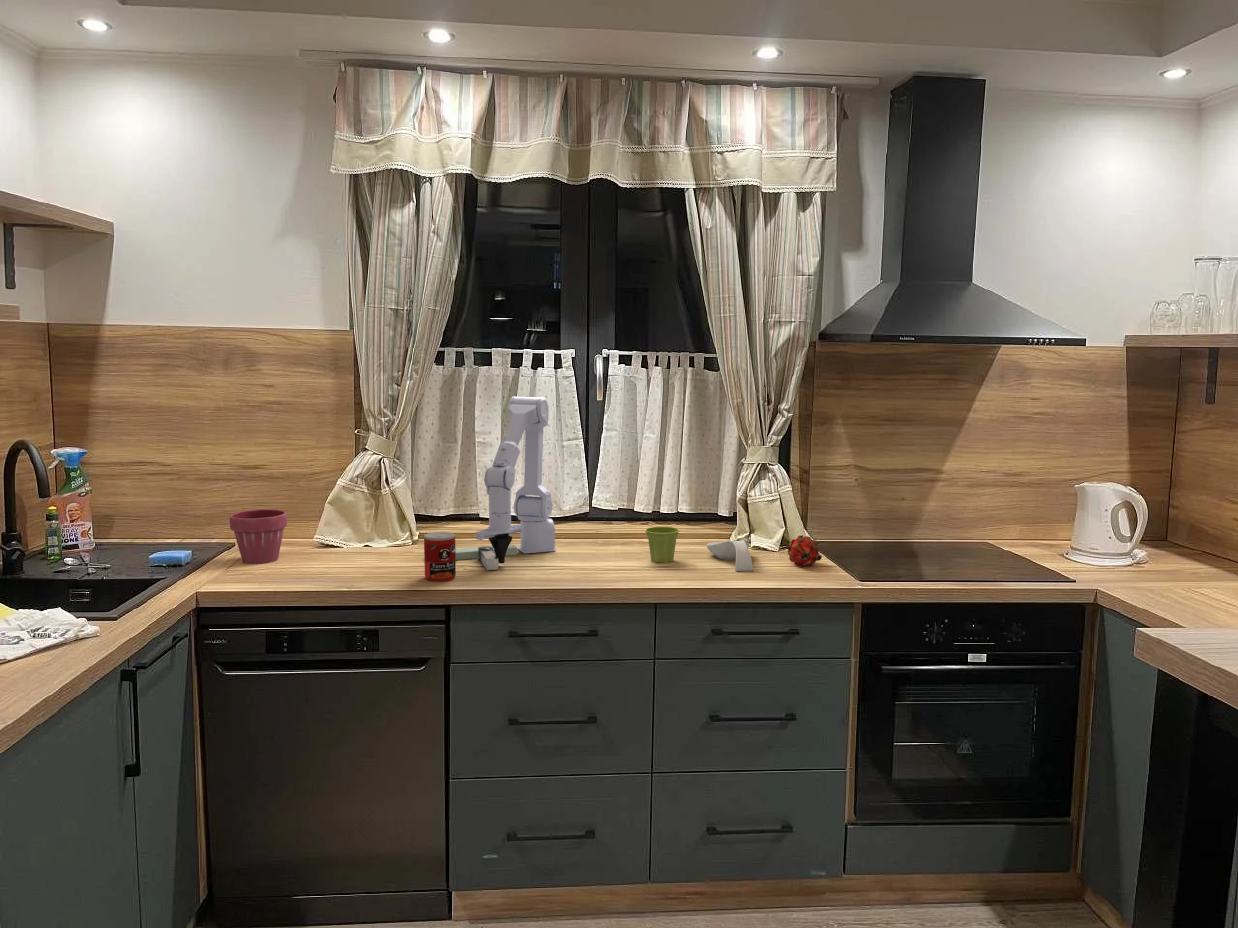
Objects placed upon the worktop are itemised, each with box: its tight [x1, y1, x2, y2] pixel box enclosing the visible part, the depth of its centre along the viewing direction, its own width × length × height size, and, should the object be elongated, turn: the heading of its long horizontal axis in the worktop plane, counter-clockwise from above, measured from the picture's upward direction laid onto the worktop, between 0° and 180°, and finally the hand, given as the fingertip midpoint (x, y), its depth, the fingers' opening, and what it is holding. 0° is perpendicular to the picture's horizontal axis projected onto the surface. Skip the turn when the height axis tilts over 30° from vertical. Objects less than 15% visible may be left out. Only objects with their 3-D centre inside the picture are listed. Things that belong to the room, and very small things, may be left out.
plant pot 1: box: [229, 508, 288, 565], centre depth 250 cm, size 14×14×13 cm
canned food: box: [423, 531, 457, 583], centre depth 232 cm, size 8×8×11 cm
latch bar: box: [477, 545, 499, 571], centre depth 247 cm, size 14×4×3 cm, turn 16°
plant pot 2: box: [644, 526, 681, 564], centre depth 253 cm, size 9×9×9 cm
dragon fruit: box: [787, 534, 823, 568], centre depth 249 cm, size 8×8×12 cm
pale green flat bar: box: [455, 543, 518, 561], centre depth 257 cm, size 24×5×2 cm, turn 114°
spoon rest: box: [706, 539, 754, 572], centre depth 253 cm, size 24×12×7 cm, turn 9°
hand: (500, 562), depth 245 cm, fingers closed
